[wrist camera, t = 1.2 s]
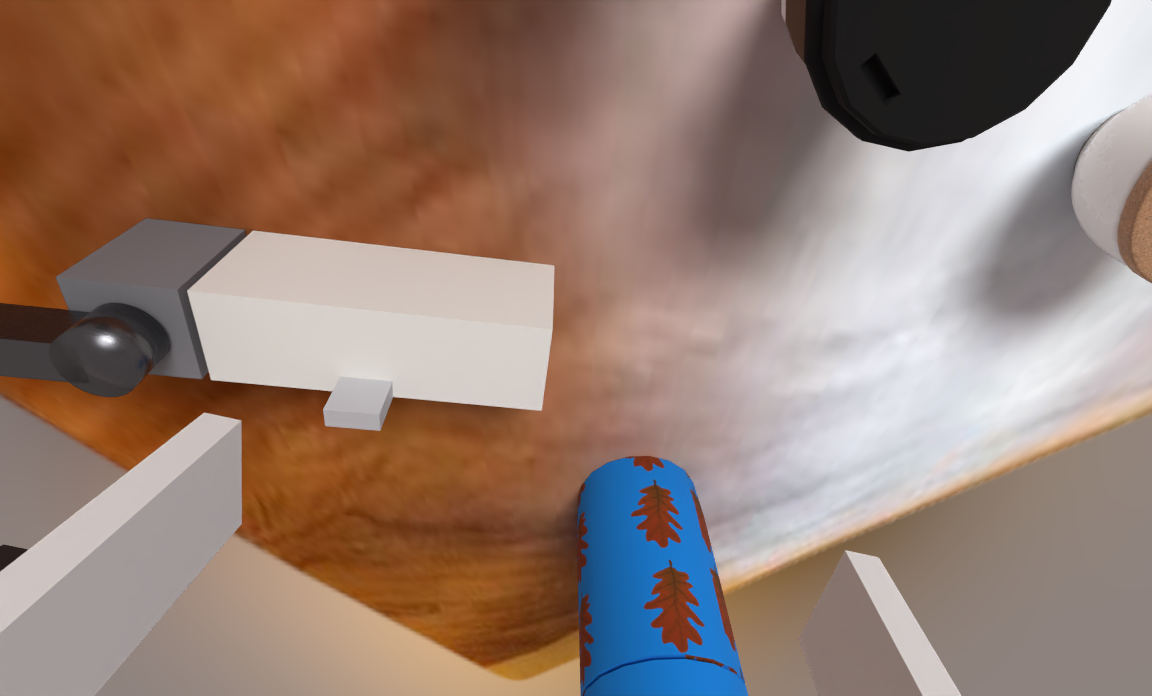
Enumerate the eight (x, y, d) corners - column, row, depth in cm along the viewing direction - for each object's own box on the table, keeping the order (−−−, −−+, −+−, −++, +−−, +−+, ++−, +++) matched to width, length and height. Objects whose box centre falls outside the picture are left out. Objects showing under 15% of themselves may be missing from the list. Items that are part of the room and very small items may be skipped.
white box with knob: (146, 218, 37) (10, 306, 28) (554, 265, 39) (551, 360, 30) (169, 300, 40) (55, 402, 31) (544, 339, 43) (540, 444, 34)
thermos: (588, 447, 49) (606, 811, 28) (711, 460, 50) (814, 819, 30) (568, 531, 55) (572, 880, 34) (678, 540, 56) (746, 885, 36)
